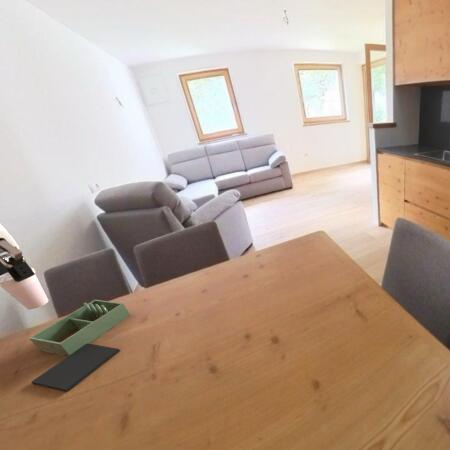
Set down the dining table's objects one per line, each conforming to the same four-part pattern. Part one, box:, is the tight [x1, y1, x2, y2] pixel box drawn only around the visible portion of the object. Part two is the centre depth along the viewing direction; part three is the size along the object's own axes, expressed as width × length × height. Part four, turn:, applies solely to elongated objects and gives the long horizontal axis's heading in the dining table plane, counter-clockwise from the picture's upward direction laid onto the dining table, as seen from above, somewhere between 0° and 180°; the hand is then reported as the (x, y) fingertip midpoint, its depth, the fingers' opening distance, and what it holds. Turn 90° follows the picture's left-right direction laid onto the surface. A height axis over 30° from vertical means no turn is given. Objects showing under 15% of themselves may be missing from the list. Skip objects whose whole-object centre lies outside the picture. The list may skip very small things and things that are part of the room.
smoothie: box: [0, 257, 50, 310], centre depth 70 cm, size 6×6×14 cm
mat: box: [31, 343, 121, 393], centre depth 74 cm, size 12×12×1 cm
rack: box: [28, 299, 131, 357], centre depth 84 cm, size 12×16×7 cm
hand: (15, 276), depth 69 cm, fingers closed on smoothie, 6 cm apart
